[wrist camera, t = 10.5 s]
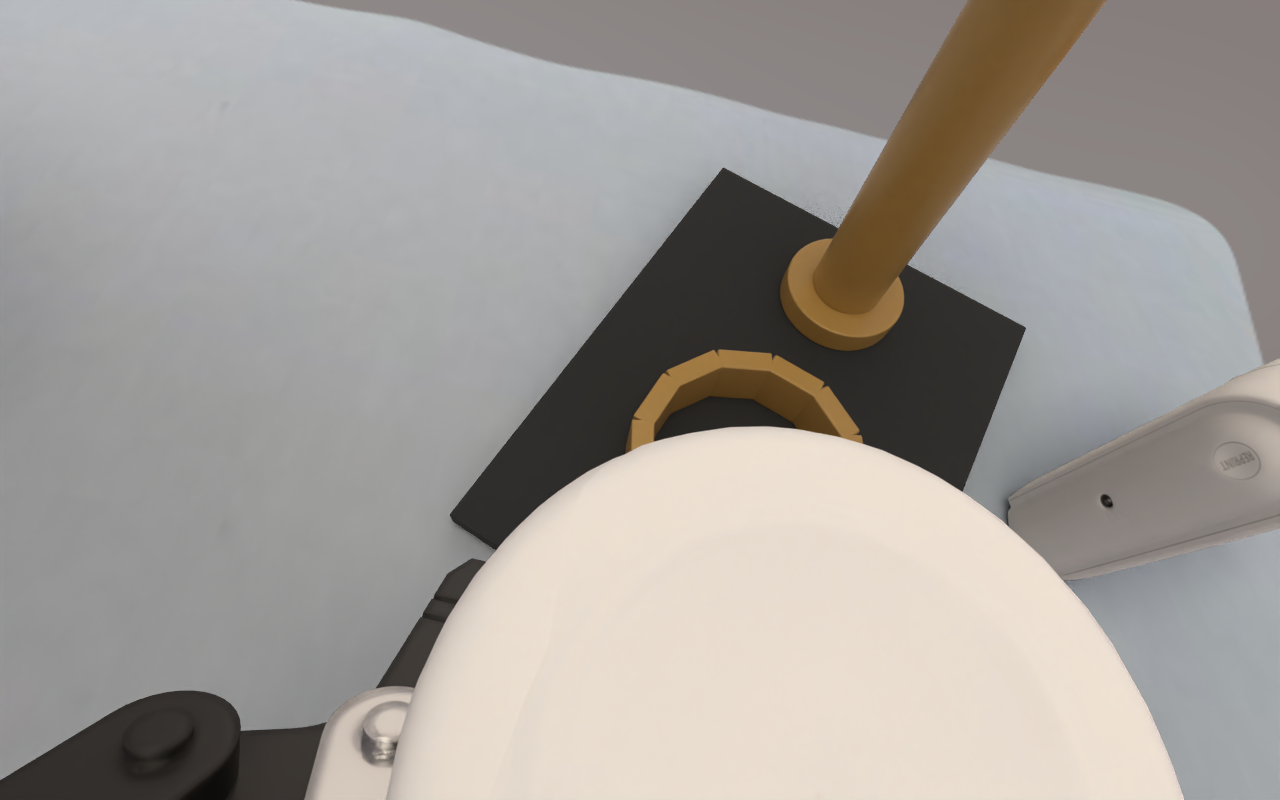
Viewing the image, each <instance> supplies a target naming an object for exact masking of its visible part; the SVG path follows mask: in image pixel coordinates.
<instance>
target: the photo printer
mask: <svg viewBox="0 0 1280 800" xmlns="http://www.w3.org/2000/svg"><path fill="white" fill-rule="evenodd" d="M1008 501H1009V504H1010V506H1011V508H1010V510H1009V511H1008V524H1009V528H1011V529H1012V530H1013V531H1014V532H1015V533H1016V534H1017V535H1018V536H1019V537H1020V538H1022V539H1023V540H1024V541H1025V542H1026V543H1027V544H1028V545H1029V546H1030V547H1032V548H1033V549H1034V550H1035V551H1036V552H1037V553H1038V554H1039V555H1040V556H1041V557H1043V558H1044V560H1045V561H1046V562H1047V563H1048V564H1049V565H1050V566H1051V568H1052V569H1053V570H1054V571H1055V572H1056V573H1057V574H1058V575H1059V577H1060V578H1061V579H1062V580H1077V579H1083V578H1089V577H1095V576H1099V575H1103V574H1107V573H1111V572H1115V571H1120V570H1124V569H1128V568H1132V567H1136V566H1140V565H1144V564H1148V563H1152V562H1155V561H1159V560H1163V559H1167V558H1171V557H1174V556H1178V555H1182V554H1186V553H1189V552H1193V551H1197V550H1201V549H1204V548H1208V547H1212V546H1216V545H1219V544H1223V543H1227V542H1230V541H1234V540H1238V539H1242V538H1245V537H1249V536H1253V535H1257V534H1261V533H1264V532H1268V531H1272V530H1276V529H1279V528H1280V359H1277V360H1275V361H1272V362H1270V363H1268V364H1265V365H1263V366H1261V367H1259V368H1257V369H1254V370H1252V371H1250V372H1248V373H1246V374H1243V375H1240V376H1237V377H1235V378H1233V379H1231V380H1230V381H1229V382H1227V383H1226V384H1224V385H1222V386H1220V387H1218V388H1216V389H1214V390H1212V391H1210V392H1208V393H1206V394H1204V395H1202V396H1200V397H1198V398H1196V399H1194V400H1192V401H1190V402H1188V403H1186V404H1184V405H1182V406H1180V407H1178V408H1177V409H1175V410H1173V411H1171V412H1169V413H1167V414H1165V415H1163V416H1161V417H1159V418H1157V419H1155V420H1153V421H1151V422H1149V423H1147V424H1145V425H1143V426H1141V427H1139V428H1137V429H1135V430H1133V431H1131V432H1129V433H1127V434H1125V435H1123V436H1121V437H1119V438H1117V439H1115V440H1113V441H1111V442H1109V443H1107V444H1105V445H1103V446H1101V447H1099V448H1097V449H1095V450H1093V451H1091V452H1089V453H1087V454H1085V455H1083V456H1081V457H1079V458H1077V459H1075V460H1073V461H1071V462H1069V463H1067V464H1065V465H1063V466H1060V467H1058V468H1057V469H1055V470H1053V471H1051V472H1049V473H1047V474H1045V475H1043V476H1041V477H1039V478H1037V479H1035V480H1033V481H1032V482H1030V483H1028V484H1027V485H1025V486H1024V487H1022V488H1021V489H1019V490H1018V491H1016V492H1015V493H1014V494H1013V495H1011V496H1010V497H1009V498H1008Z"/></svg>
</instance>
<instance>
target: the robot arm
mask: <svg viewBox="0 0 1280 800" xmlns="http://www.w3.org/2000/svg"><path fill="white" fill-rule="evenodd" d="M485 563H486V562H485V561H481V560H476V559H470V560H468V561H467V562H465V563H464V564H462V565H460V566H459V567H457V568H456V569H454V570H453V571H451V572H449V573H448V574H447V576H446V577H445V579H444V580H443V582H442V584H441V585H440V587H439V588H438V590H437V592H436V593H435V595H434V598H433V599H431V601H430V603H429V604H428V606H427V607H426V609H425V611H424V612H423V616H422V617H420V619H419V620H418V622H417V623H416V625H415V627H414V628H413V630H412V631H411V633H410V635H409V636H408V638H407V639H406V641H405V643H404V644H403V646H402V647H401V649H400V651H399V652H398V654H397V655H396V657H395V659H394V660H393V662H392V663H391V665H390V667H389V668H388V670H387V671H386V673H385V675H384V676H383V678H382V679H381V681H380V683H379V684H378V686H377V687H376V689H373V690H370V691H366V692H364V693H362V694H359V695H357V696H355V697H353V698H352V699H350V700H348V701H347V702H345V703H344V704H343V705H342V706H340V707H339V708H338V709H337V710H336V711H335V712H334V713H333V715H332V716H331V717H330V719H329V720H328V722H325V723H322V724H319V725H314V726H309V727H302V728H292V729H272V730H252V731H240V729H241V726H240V718H239V716H238V714H237V711H236V710H235V709H234V707H233V706H232V705H231V704H230V703H229V702H227V701H226V700H225V699H223V698H221V697H219V696H216V695H214V694H210V693H206V692H200V691H174V692H166V693H161V694H157V695H152V696H149V697H146V698H143V699H140V700H137V701H135V702H132V703H130V704H128V705H125V706H123V707H121V708H120V709H118V710H116V711H114V712H112V713H110V714H109V715H107V716H106V717H104V718H102V719H101V720H99V721H97V722H96V723H94V724H92V725H91V726H89V727H87V728H86V729H84V730H82V731H81V732H79V733H78V734H76V735H74V736H73V737H71V738H69V739H68V740H66V741H64V742H63V743H61V744H59V745H58V746H56V747H54V748H53V749H51V750H49V751H48V752H46V753H45V754H43V755H41V756H40V757H38V758H36V759H35V760H33V761H31V762H30V763H28V764H26V765H25V766H23V767H21V768H20V769H18V770H17V771H15V772H13V773H12V774H10V775H8V776H7V777H5V778H3V779H2V780H0V800H386V796H387V792H388V787H389V782H390V777H391V772H392V768H393V763H394V758H395V753H396V748H397V744H398V741H399V737H400V734H401V730H402V727H403V724H404V720H405V717H406V713H407V710H408V707H409V703H410V701H411V698H412V695H413V692H414V690H415V687H416V684H417V681H418V679H419V676H420V674H421V672H422V670H423V668H424V666H425V664H426V662H427V659H428V657H429V655H430V653H431V651H432V649H433V646H434V644H435V642H436V640H437V638H438V636H439V634H440V632H441V630H442V628H443V626H444V624H445V622H446V620H447V618H448V616H449V615H450V613H451V612H452V610H453V608H454V607H455V605H456V604H457V602H458V601H459V599H460V598H461V596H462V595H463V593H464V591H465V590H466V588H467V587H468V585H469V584H470V582H471V581H472V579H473V578H474V576H475V574H476V573H477V572H478V571H479V570H480V569H481V567H482V566H483V565H484V564H485Z"/></svg>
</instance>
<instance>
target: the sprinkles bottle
mask: <svg viewBox="0 0 1280 800" xmlns="http://www.w3.org/2000/svg"><path fill="white" fill-rule="evenodd" d="M386 800H1184V798H1183V795H1182V792H1181V789H1180V786H1179V783H1178V780H1177V777H1176V774H1175V771H1174V768H1173V765H1172V762H1171V760H1170V758H1169V755H1168V753H1167V750H1166V748H1165V746H1164V743H1163V741H1162V739H1161V736H1160V734H1159V732H1158V729H1157V727H1156V725H1155V723H1154V720H1153V718H1152V716H1151V714H1150V711H1149V709H1148V707H1147V705H1146V703H1145V701H1144V699H1143V698H1142V696H1141V694H1140V692H1139V691H1138V689H1137V687H1136V685H1135V683H1134V682H1133V680H1132V678H1131V676H1130V675H1129V673H1128V671H1127V669H1126V667H1125V666H1124V664H1123V662H1122V660H1121V658H1120V657H1119V655H1118V653H1117V651H1116V650H1115V648H1114V646H1113V644H1112V643H1111V642H1110V640H1109V639H1108V637H1107V636H1106V634H1105V633H1104V632H1103V630H1102V629H1101V627H1100V626H1099V624H1098V623H1097V622H1096V620H1095V619H1094V617H1093V616H1092V614H1091V613H1090V612H1089V610H1088V609H1087V607H1086V606H1085V605H1084V604H1083V603H1082V602H1081V600H1080V599H1079V598H1078V597H1077V596H1076V595H1075V594H1074V593H1073V591H1072V590H1071V589H1070V588H1069V587H1068V586H1067V585H1066V583H1065V582H1064V581H1063V580H1062V579H1061V578H1060V577H1059V575H1058V574H1057V573H1056V572H1055V571H1054V570H1053V569H1052V568H1051V566H1050V565H1049V564H1048V563H1047V562H1046V561H1045V560H1044V558H1043V557H1041V556H1040V555H1039V554H1038V553H1037V552H1036V551H1035V550H1034V549H1033V548H1032V547H1030V546H1029V545H1028V544H1027V543H1026V542H1025V541H1024V540H1023V539H1022V538H1020V537H1019V536H1018V535H1017V534H1016V533H1015V532H1014V531H1013V530H1012V529H1011V528H1009V527H1008V526H1007V525H1006V524H1005V523H1004V522H1003V521H1002V520H1001V519H999V518H998V517H997V516H995V515H994V514H992V513H991V512H990V511H988V510H987V509H985V508H984V507H983V506H981V505H980V504H979V503H977V502H976V501H974V500H973V499H972V498H970V497H969V496H967V495H966V494H965V493H963V492H962V491H960V490H958V489H957V488H955V487H954V486H952V485H950V484H949V483H947V482H946V481H944V480H942V479H941V478H939V477H938V476H936V475H934V474H932V473H930V472H928V471H926V470H924V469H922V468H920V467H918V466H917V465H914V464H912V463H910V462H908V461H905V460H903V459H901V458H899V457H896V456H894V455H892V454H890V453H887V452H885V451H883V450H880V449H877V448H874V447H871V446H868V445H865V444H862V443H858V442H855V441H851V440H848V439H844V438H841V437H836V436H831V435H826V434H821V433H815V432H810V431H805V430H799V429H791V428H779V427H768V426H764V427H728V428H721V429H714V430H708V431H701V432H694V433H689V434H684V435H680V436H675V437H671V438H666V439H662V440H659V441H655V442H652V443H648V444H645V445H641V446H640V447H638V448H636V449H634V450H632V451H630V452H628V453H626V454H624V455H622V456H619V457H616V458H614V459H612V460H610V461H608V462H606V463H604V464H602V465H600V466H598V467H596V468H594V469H592V470H590V471H588V472H586V473H585V474H583V475H582V476H580V477H579V478H577V479H576V480H574V481H573V482H571V483H570V484H568V485H567V486H565V487H564V488H562V489H561V490H559V491H558V492H557V493H555V494H554V495H553V496H551V497H550V498H549V499H548V500H546V501H545V502H544V503H543V504H541V505H540V506H539V507H538V508H537V509H536V510H535V511H533V512H532V513H531V514H530V515H529V516H528V517H527V518H526V519H525V520H524V521H523V522H522V523H521V524H520V525H519V526H518V527H517V528H516V529H515V530H514V531H513V532H512V533H511V534H510V535H509V536H508V537H507V538H506V539H505V540H504V541H503V543H502V544H501V545H500V546H499V547H498V549H497V550H496V551H495V552H494V553H493V554H492V556H491V557H490V558H489V559H488V560H487V562H486V563H485V564H484V565H483V566H482V567H481V569H480V570H479V571H478V572H477V573H476V574H475V576H474V578H473V579H472V581H471V582H470V584H469V585H468V587H467V588H466V590H465V591H464V593H463V595H462V596H461V598H460V599H459V601H458V602H457V604H456V605H455V607H454V608H453V610H452V612H451V613H450V615H449V616H448V618H447V620H446V622H445V624H444V626H443V628H442V630H441V632H440V634H439V636H438V638H437V640H436V642H435V644H434V646H433V649H432V651H431V653H430V655H429V657H428V659H427V662H426V664H425V666H424V668H423V670H422V672H421V674H420V676H419V679H418V681H417V684H416V687H415V690H414V692H413V695H412V698H411V701H410V703H409V707H408V710H407V713H406V717H405V720H404V724H403V727H402V730H401V734H400V737H399V741H398V744H397V748H396V753H395V758H394V763H393V768H392V772H391V777H390V782H389V787H388V792H387V796H386Z"/></svg>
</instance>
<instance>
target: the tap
mask: <svg viewBox="0 0 1280 800" xmlns="http://www.w3.org/2000/svg"><path fill="white" fill-rule="evenodd" d="M1106 1H1107V0H967V2H966V4H965V5H964V7H963V9H962V11H961V12H960V14H959V16H958V18H957V19H956V21H955V23H954V25H953V27H952V28H951V30H950V32H949V34H948V35H947V37H946V39H945V41H944V42H943V44H942V46H941V48H940V50H939V51H938V53H937V55H936V57H935V59H934V60H933V62H932V64H931V65H930V67H929V69H928V71H927V73H926V74H925V76H924V78H923V80H922V81H921V83H920V85H919V87H918V88H917V90H916V92H915V94H914V96H913V98H912V99H911V101H910V103H909V104H908V106H907V108H906V110H905V112H904V113H903V115H902V117H901V119H900V121H899V122H898V124H897V126H896V127H895V130H894V131H893V133H892V135H891V136H890V138H889V140H888V142H887V143H886V145H885V147H884V149H883V151H882V152H881V154H880V156H879V158H878V159H877V161H876V163H875V165H874V166H873V168H872V170H871V172H870V174H869V175H868V177H867V179H866V181H865V182H864V184H863V186H862V188H861V190H860V191H859V193H858V195H857V197H856V198H855V200H854V202H853V204H852V205H851V207H850V209H849V211H848V213H847V214H846V216H845V218H844V220H843V221H842V223H841V225H840V227H839V229H838V230H837V232H836V234H835V236H834V237H833V239H823V240H818V241H815V242H812V243H810V244H808V245H806V246H805V247H803V248H802V249H801V250H799V251H798V252H797V253H796V255H795V256H794V257H793V259H792V261H791V262H790V264H789V266H788V268H787V270H786V272H785V274H784V276H783V279H782V282H781V287H780V297H781V303H782V306H783V309H784V311H785V313H786V315H787V317H788V319H789V320H790V322H791V323H792V324H793V325H794V327H795V328H796V329H797V330H798V331H799V332H800V333H802V334H803V335H804V336H805V337H807V338H808V339H810V340H812V341H813V342H815V343H817V344H819V345H822V346H824V347H827V348H831V349H835V350H842V351H853V350H860V349H864V348H867V347H870V346H872V345H874V344H875V343H877V342H878V341H880V340H881V339H882V338H883V337H884V336H885V335H886V334H887V332H888V331H889V330H890V329H891V328H892V327H893V325H894V324H895V323H896V322H897V320H898V319H899V317H900V315H901V313H902V310H903V306H904V291H903V287H902V284H901V281H900V279H899V277H898V276H899V274H900V273H901V272H902V270H903V269H904V268H905V266H906V265H907V264H908V262H909V261H910V260H911V258H912V257H913V256H914V254H915V253H916V252H917V251H918V249H919V248H920V247H921V245H922V244H923V243H924V241H925V240H926V239H927V237H928V236H929V235H930V233H931V232H932V231H933V229H934V228H935V227H936V225H937V224H938V223H939V222H940V220H941V219H942V218H943V216H944V215H945V214H946V212H947V211H948V210H949V208H950V207H951V206H952V204H953V203H954V202H955V200H956V199H957V198H958V196H959V195H960V194H961V193H962V191H963V190H964V189H965V187H966V186H967V185H968V183H969V182H970V181H971V179H972V178H973V177H974V175H975V174H976V173H977V171H978V170H979V169H980V168H981V166H982V165H983V164H984V162H985V161H986V160H987V158H988V157H989V156H990V154H991V153H992V152H993V150H994V149H995V148H996V146H997V145H998V144H999V142H1000V141H1001V140H1002V139H1003V137H1004V136H1005V135H1006V133H1007V132H1008V131H1009V129H1010V128H1011V127H1012V125H1013V124H1014V123H1015V121H1016V120H1017V119H1018V117H1019V116H1020V115H1021V113H1022V112H1023V111H1024V109H1025V108H1026V107H1027V106H1028V104H1029V103H1030V102H1031V100H1032V99H1033V98H1034V96H1035V95H1036V94H1037V92H1038V91H1039V90H1040V88H1041V87H1042V86H1043V84H1044V83H1045V82H1046V80H1047V79H1048V78H1049V77H1050V75H1051V74H1052V72H1053V71H1054V70H1055V69H1056V67H1057V66H1058V65H1059V63H1060V62H1061V61H1062V59H1063V58H1064V57H1065V55H1066V54H1067V53H1068V52H1069V50H1070V49H1071V47H1072V46H1073V45H1074V44H1075V42H1076V41H1077V40H1078V38H1079V37H1080V36H1081V34H1082V33H1083V32H1084V30H1085V29H1086V28H1087V26H1088V25H1089V24H1090V22H1091V21H1092V20H1093V18H1094V17H1095V16H1096V15H1097V13H1098V12H1099V11H1100V9H1101V8H1102V7H1103V5H1104V4H1105V3H1106ZM823 385H824V382H823V381H821V380H820V379H818V378H816V377H814V376H813V375H811V374H809V373H807V372H806V371H804V370H802V369H800V368H798V367H797V366H795V365H793V364H791V363H790V362H788V361H786V360H784V359H783V358H781V357H779V356H777V355H776V356H774V358H773V360H772V354H770V353H759V352H746V351H733V350H721V349H720V350H718V351H717V354H716V352H715V351H714V350H712V351H710V352H708V353H705V354H703V355H701V356H698V357H696V358H694V359H692V360H689V361H687V362H685V363H682V364H680V365H678V366H675V367H673V368H671V369H668V370H667V371H666V374H665V373H663V374H662V375H661V377H660V378H659V379H658V381H657V382H656V384H655V385H654V387H653V388H652V390H651V391H650V392H649V394H648V395H647V397H646V398H645V400H644V401H643V402H642V404H641V405H640V407H639V408H638V410H637V411H636V412H635V414H634V417H633V420H632V422H631V427H630V431H629V435H628V439H627V444H626V453H628V452H630V451H632V450H634V449H636V448H638V447H640V446H641V445H645V444H648V443H652V442H654V438H655V436H656V435H657V433H658V432H659V430H660V429H661V427H662V426H663V424H664V423H665V421H666V420H667V418H668V417H669V415H670V414H671V413H673V412H676V411H678V410H680V409H682V408H684V407H686V406H689V405H691V404H693V403H695V402H697V401H700V400H702V399H704V398H706V397H708V396H715V397H729V398H742V399H753V400H755V401H757V402H758V403H760V404H762V405H763V406H765V407H767V408H769V409H770V410H772V411H774V412H775V413H777V414H779V415H780V416H782V417H784V418H786V419H787V420H789V421H791V422H792V423H793V424H794V425H795V427H796V428H797V429H799V430H805V431H810V432H815V433H821V434H826V435H831V436H836V437H841V438H844V439H848V440H851V441H855V442H858V443H862V444H863V440H862V436H861V435H857V434H858V433H859V429H858V427H857V426H856V425H855V423H854V422H853V420H852V419H851V418H850V416H849V415H848V413H847V412H846V411H845V409H844V408H843V406H842V405H841V404H840V402H839V401H838V399H837V398H836V396H835V395H834V394H833V392H832V391H831V389H830V388H829V387H828V386H825V387H823ZM822 387H823V388H822Z"/></svg>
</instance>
